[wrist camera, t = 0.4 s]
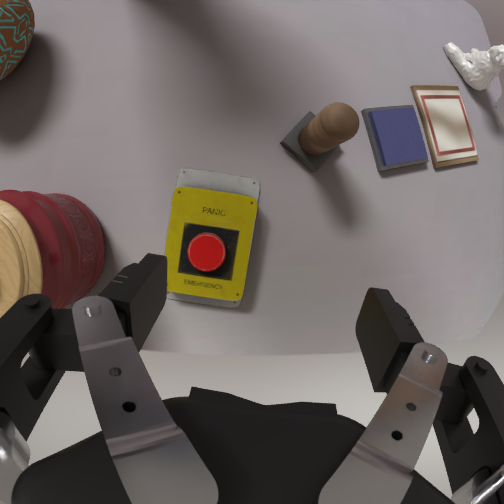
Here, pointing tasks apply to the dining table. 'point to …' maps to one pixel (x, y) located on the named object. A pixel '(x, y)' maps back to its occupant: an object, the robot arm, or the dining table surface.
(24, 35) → the decorative sphere
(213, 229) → the emergency button
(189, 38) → the dining table surface
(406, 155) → the ink pad
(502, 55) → the seated beast figurine
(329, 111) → the stamp
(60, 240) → the canister
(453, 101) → the framed board
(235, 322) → the dining table surface
